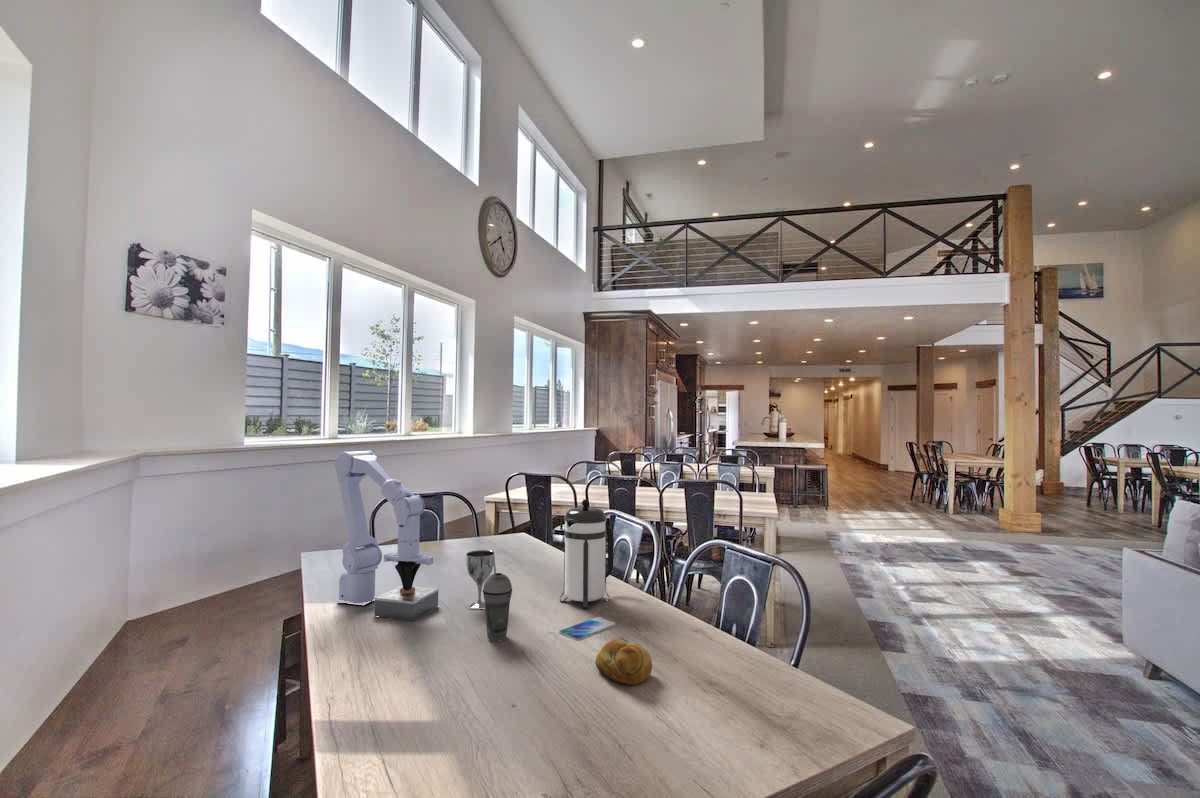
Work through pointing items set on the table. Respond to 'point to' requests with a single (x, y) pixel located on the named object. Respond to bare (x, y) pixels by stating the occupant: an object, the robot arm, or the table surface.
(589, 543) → the coffee press
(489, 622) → the beverage cup
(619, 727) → the table surface
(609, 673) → the bread roll
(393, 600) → the press
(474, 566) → the wine glass
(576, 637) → the smartphone
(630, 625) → the table surface
